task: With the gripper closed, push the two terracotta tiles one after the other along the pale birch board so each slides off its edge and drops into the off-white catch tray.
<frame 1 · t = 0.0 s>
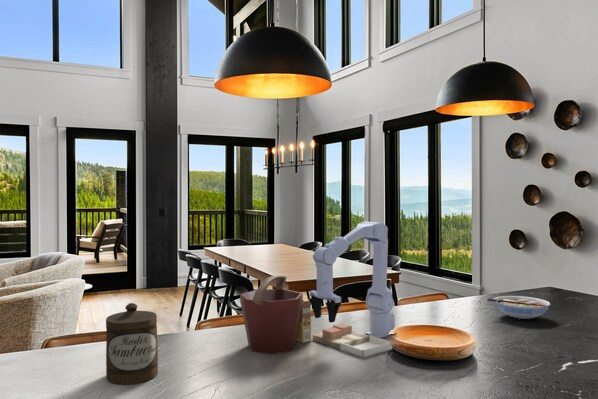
hand: (324, 319, 180), 10 cm above the kitchen island, tool pointing down, fingers open, 7 cm apart
candy box: (300, 339, 191), on the kitchen island
tray: (366, 349, 179), on the kitchen island
wooden container: (132, 376, 154), on the kitchen island
ramen bowl: (521, 318, 222), on the kitchen island
board: (340, 340, 189), on the kitchen island
bucket: (273, 347, 182), on the kitchen island
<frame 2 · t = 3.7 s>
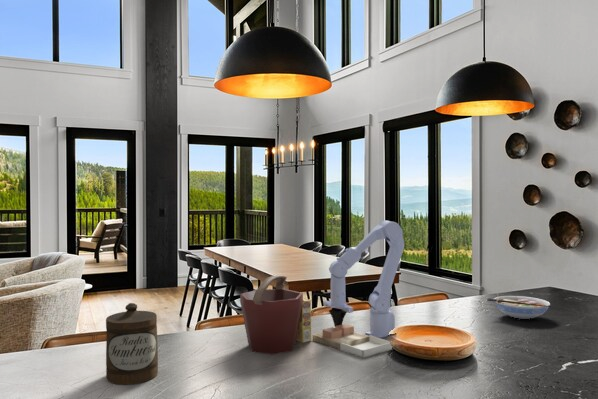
hand: (338, 328, 195), 3 cm above the kitchen island, tool pointing down, fingers closed
everything else where it was.
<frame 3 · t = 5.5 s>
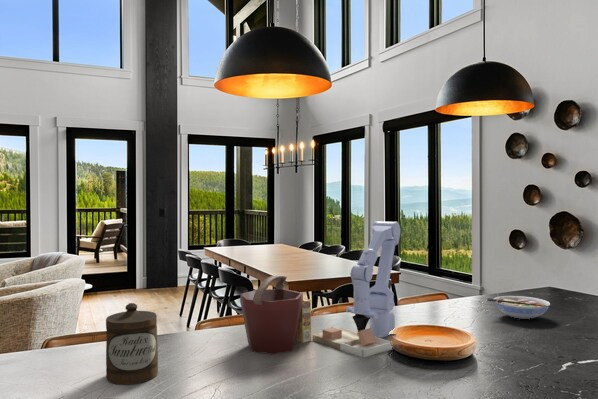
hand: (361, 335, 185), 3 cm above the kitchen island, tool pointing down, fingers closed
tile near: (364, 338, 184), point 2 cm above the kitchen island, tilted 54°, touching gripper, tray
everything else where it was.
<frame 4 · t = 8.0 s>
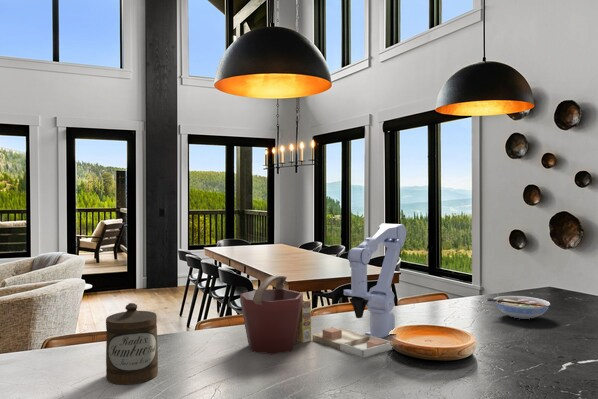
hand: (359, 317, 186), 9 cm above the kitchen island, tool pointing down, fingers closed
tile near: (376, 341, 179), point 3 cm above the kitchen island, tilted 180°, touching tray
everything else where it was.
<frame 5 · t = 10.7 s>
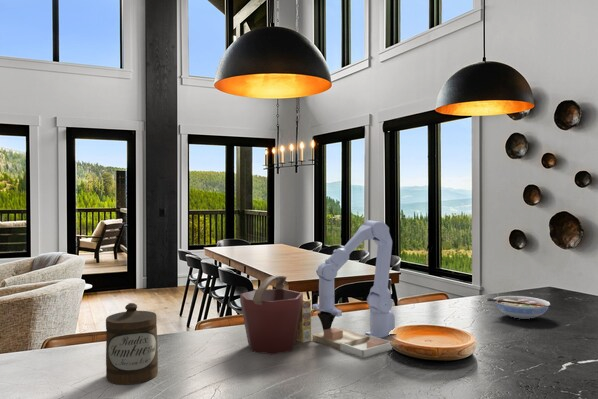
hand: (326, 332, 190), 3 cm above the kitchen island, tool pointing down, fingers closed
tile far: (333, 336, 187), point 2 cm above the kitchen island
everything else where it was.
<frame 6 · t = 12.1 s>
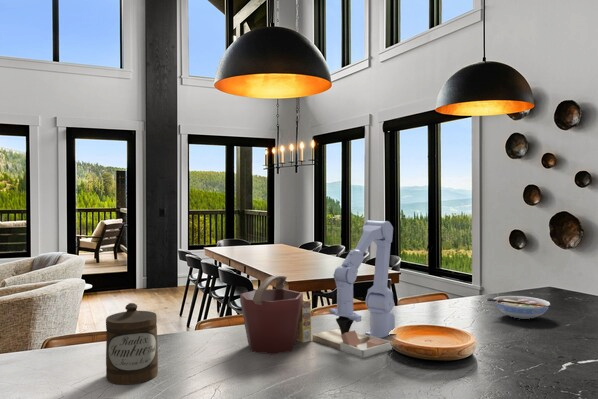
hand: (345, 337, 182), 3 cm above the kitchen island, tool pointing down, fingers closed
tile far: (348, 341, 181), point 2 cm above the kitchen island, tilted 55°, touching gripper, tray
everything else where it was.
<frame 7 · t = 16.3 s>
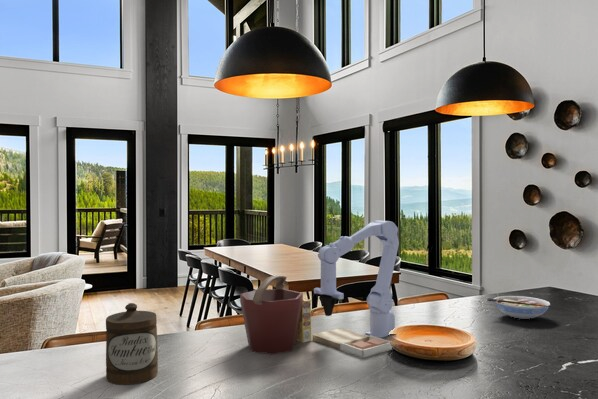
hand: (328, 315, 189), 9 cm above the kitchen island, tool pointing down, fingers closed
tile far: (361, 344, 175), point 3 cm above the kitchen island, tilted 180°, touching tray
everything else where it was.
at the end: tile near inside the target area on the tray (3.6 cm from its centre), point 2.9 cm above the tray's base; tile far inside the target area on the tray (3.9 cm from its centre), point 2.9 cm above the tray's base; tile near touching tray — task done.
